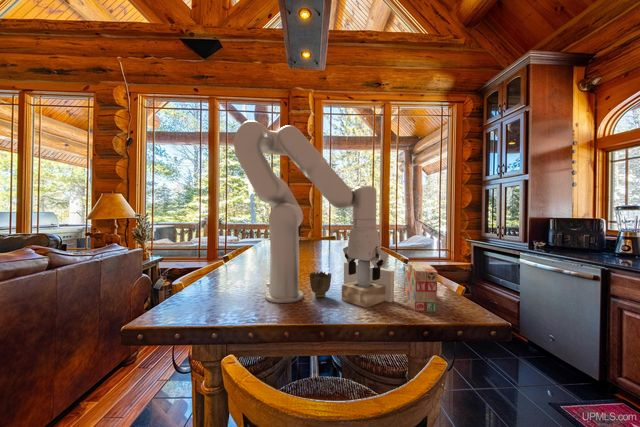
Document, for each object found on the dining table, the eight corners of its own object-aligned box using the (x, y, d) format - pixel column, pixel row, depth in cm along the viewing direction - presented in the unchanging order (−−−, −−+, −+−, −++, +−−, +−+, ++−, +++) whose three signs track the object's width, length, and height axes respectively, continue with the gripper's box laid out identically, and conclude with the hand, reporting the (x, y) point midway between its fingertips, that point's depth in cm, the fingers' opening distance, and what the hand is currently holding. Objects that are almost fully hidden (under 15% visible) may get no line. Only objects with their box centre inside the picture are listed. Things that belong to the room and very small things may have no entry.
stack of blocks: (403, 290, 106) (403, 257, 106) (421, 291, 105) (421, 258, 105) (414, 311, 85) (415, 270, 85) (437, 312, 84) (437, 270, 84)
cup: (335, 297, 97) (336, 273, 97) (321, 302, 92) (321, 277, 92) (319, 292, 102) (319, 270, 102) (304, 297, 97) (304, 273, 97)
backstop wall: (343, 289, 107) (343, 262, 107) (347, 288, 108) (347, 261, 108) (390, 302, 92) (390, 271, 92) (393, 301, 94) (394, 270, 94)
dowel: (354, 297, 94) (355, 260, 94) (362, 294, 97) (362, 259, 97) (365, 300, 91) (365, 262, 91) (372, 297, 94) (372, 260, 94)
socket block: (341, 299, 94) (341, 284, 94) (360, 293, 101) (360, 279, 101) (366, 307, 87) (366, 291, 87) (385, 300, 94) (385, 285, 94)
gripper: (336, 223, 97) (336, 274, 97) (380, 226, 85) (379, 284, 85) (351, 222, 102) (350, 270, 103) (394, 225, 90) (393, 279, 90)
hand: (363, 276), depth 94 cm, fingers open, 9 cm apart
